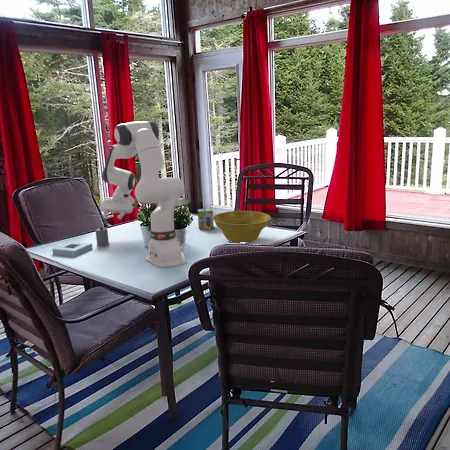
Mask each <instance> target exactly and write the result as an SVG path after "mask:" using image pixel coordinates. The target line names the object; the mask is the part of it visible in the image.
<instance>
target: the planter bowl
mask: <svg viewBox="0 0 450 450" xmlns="http://www.w3.org/2000/svg"><path fill="white" fill-rule="evenodd" d="M212 219H213V222H214V223H215V225H216V227H217V228H218V229H219V230H220V231H221V232H222V234H223V235H224V237H225V238H226V240H227V241H229V242H230V241H232V242H231V243H233V242H236V243H235V244H241V243H240V242H250V243H252V242H251V241H253V242H254V241H255V240H257V239H258V237H259V236H260V234H261V233H262V230H263V229H265V228H267V225H268V223H269V221H271V219H272V216H271V215H269V214H267V213H264V212H260V211H252V210H232V211H224V212H220V213H218V214H215V215H214V214H213V217H212Z"/></svg>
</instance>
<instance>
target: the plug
mask: <svg viewBox="0 0 450 450" xmlns="http://www.w3.org/2000/svg"><path fill="white" fill-rule="evenodd" d="M108 231H109V230H108V228H103V225H99V228H97V229H95V236H96V246H97V247H103V248H105V247H106V246H109V244H110V242H109V232H108Z"/></svg>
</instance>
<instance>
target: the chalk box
mask: <svg viewBox="0 0 450 450" xmlns="http://www.w3.org/2000/svg"><path fill="white" fill-rule="evenodd" d="M202 207H203V208H198V209H197V219H198V222H197V223H198V224H197V225H198V226H199V227H198V230H199V229H203V230H210V229H209V228H214V229H215V227H214V226H215V225H214V220H213V219H212V217H213V216H214V213H213V209H212V208H205V206H204V204H202Z"/></svg>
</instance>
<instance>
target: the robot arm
mask: <svg viewBox="0 0 450 450" xmlns="http://www.w3.org/2000/svg"><path fill="white" fill-rule="evenodd" d="M159 130H160V129H159V127H158V125H157V124H156V123H155V122H154V121H152V120H147V121H130V122H126V123H120V124H117V125H116V126H115V127H114V133H113V134H114V139H115V141H116V144H113V145H112V146H111V148H110V150H109V152H108V155H107V159H106V161H105V165H104V168H103V170H102V172H101V179H102V181H103V182H104V184H105V183H106V184H112V185H115V186H116V189H114V192H113V194H112V196H111V197H106V198H104V199H103V201H102V202H101V204H100V206H99V210H100V211H101V212H102V213H103V216H102V217H103V218H104V219H107V218H108V216H109V215H107V214H108V213H113V214H115V213H116V214H118V215H117V219H118V220H121V219H122V218H123V217H124V216H125V215H126V214H131V213H132V212H133V209H134V207H135V206H134V207H133V206H132V204H133V203H134V204H135V203H136V201H135V199H134V198H133V197H132V195H131V192H132V191H133V189H134V187H135V189H134V196H135V198H136V200H137V202H139V203H140V204H148V205H149V204H150V205H151V204H156V203H157V206H156V208H155V209H154V210H153V211H151V213H150V238H151V239H150V240H149V241H148V243H147V246H148V247H147V248H148V251H147V252H148V253H147V254H148V256H146V257H145V261H147V262H148V263H150V264H152V265H154V266H156V267H157V268H171V267H177V266H182V265H185V264H187V259H186V257H185V254H184V253H183V251H184V246H181V242H179V240H178V237H177V234H176V232H177V231H176V228H175V222H174V221H175V208H176V207H177V204H178V201H180V198H181V197H183V195H184V192H185V184H184V182H183V180H181V178H179V177H171V176H169V177H162V178H160V176H159V173H160V171H161V170H162V169H163V168H164V166H165V161H164V158H163V153H162V150H161V147H160V144H159V141H158V139H159V137H160V136H159V135H160V131H159ZM136 155H137V157H138V160H139V163H140V164H139V165H140V170H141V175H140V179H139V181H138V183H137V184H136V182H137V181H136V180H137V179H136V176H135V174H134V172H132V171H129V170H126V169H122V168H120V167H119V168H118V167H116V166H115V165H114V164H115V161H116V160H118V159H120V160H121V159H125V160H126V159H127V160H128V159H131V158H133V157H135V156H136Z"/></svg>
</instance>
